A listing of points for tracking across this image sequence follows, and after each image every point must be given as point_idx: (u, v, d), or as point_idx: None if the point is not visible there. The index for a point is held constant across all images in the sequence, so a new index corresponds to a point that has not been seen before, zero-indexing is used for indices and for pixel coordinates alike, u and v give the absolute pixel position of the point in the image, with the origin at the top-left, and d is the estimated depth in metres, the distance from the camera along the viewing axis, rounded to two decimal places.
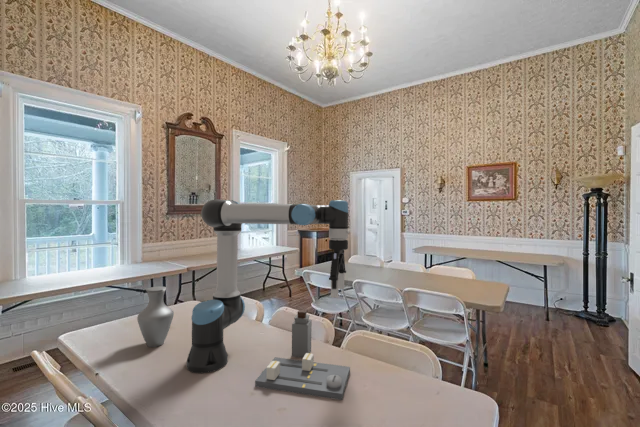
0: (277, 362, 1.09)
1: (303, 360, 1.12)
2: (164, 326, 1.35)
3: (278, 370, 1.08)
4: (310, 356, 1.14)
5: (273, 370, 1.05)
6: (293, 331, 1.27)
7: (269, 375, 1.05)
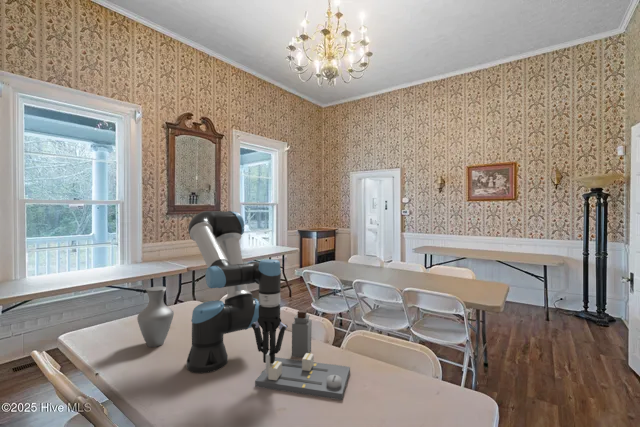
0: (279, 362, 1.09)
1: (303, 360, 1.12)
2: (164, 326, 1.35)
3: (280, 370, 1.08)
4: (310, 356, 1.14)
5: (275, 371, 1.05)
6: (293, 331, 1.27)
7: (270, 375, 1.05)
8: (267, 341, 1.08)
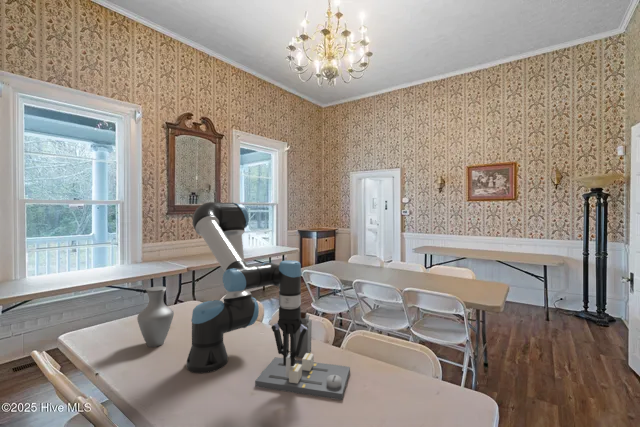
0: (299, 365, 1.07)
1: (303, 360, 1.12)
2: (164, 326, 1.35)
3: (300, 373, 1.06)
4: (310, 356, 1.14)
5: (296, 374, 1.03)
6: None
7: (291, 378, 1.03)
8: (287, 343, 1.06)
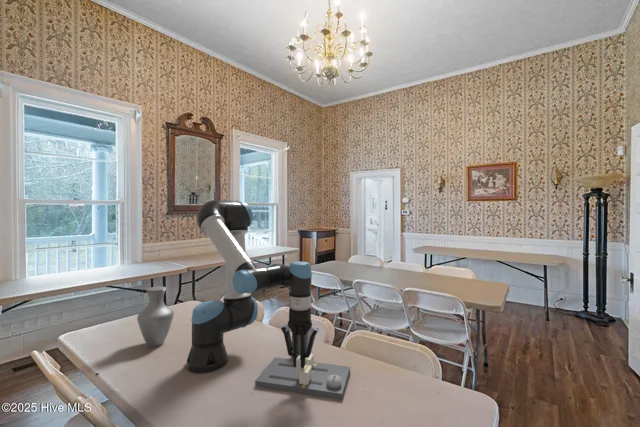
0: (308, 366, 1.07)
1: None
2: (164, 326, 1.35)
3: (310, 374, 1.05)
4: (310, 356, 1.14)
5: (306, 375, 1.02)
6: None
7: (301, 379, 1.03)
8: (297, 345, 1.06)
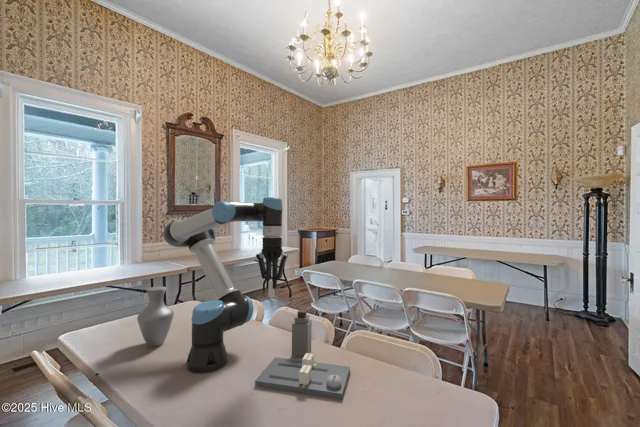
0: (308, 366, 1.07)
1: (303, 360, 1.12)
2: (164, 326, 1.35)
3: (310, 374, 1.05)
4: (310, 356, 1.14)
5: (306, 375, 1.02)
6: (293, 331, 1.27)
7: (301, 379, 1.03)
8: (270, 270, 1.21)
